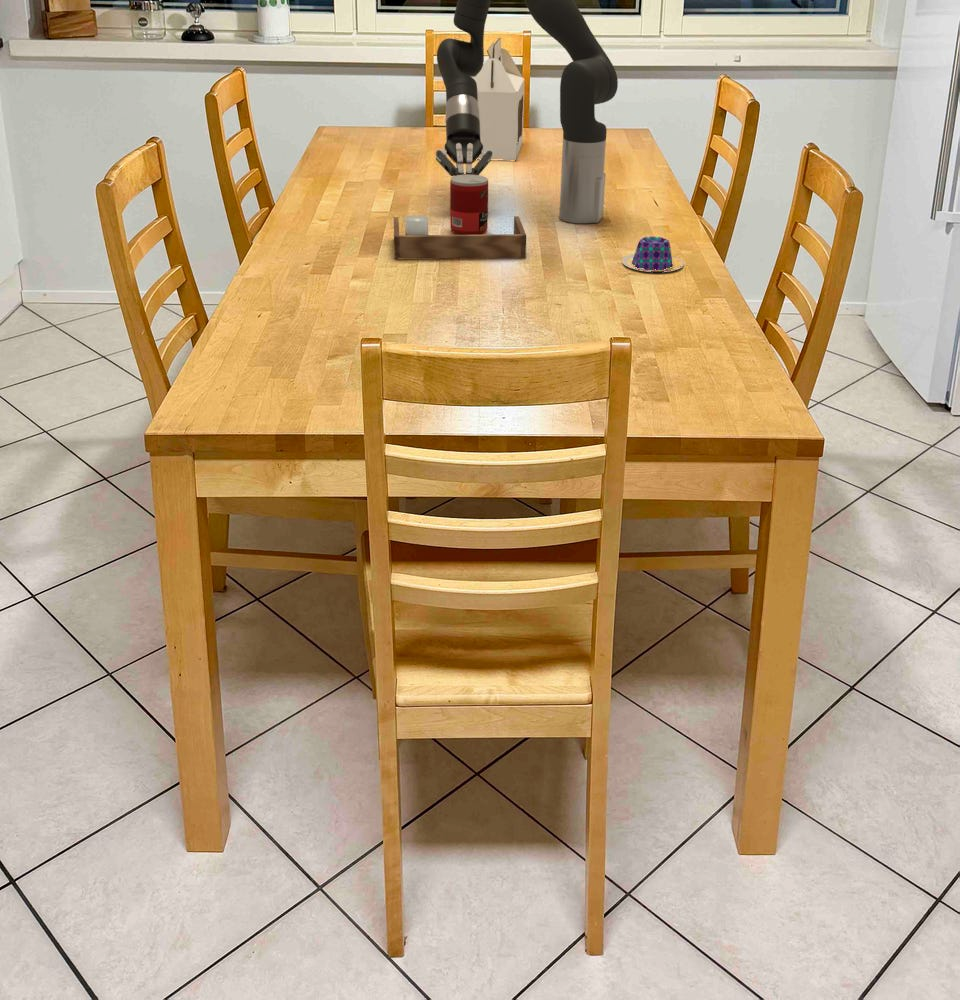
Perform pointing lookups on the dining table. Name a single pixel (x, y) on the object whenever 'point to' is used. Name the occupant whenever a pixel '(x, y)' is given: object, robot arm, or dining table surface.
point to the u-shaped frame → (461, 244)
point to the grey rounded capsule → (416, 225)
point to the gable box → (500, 104)
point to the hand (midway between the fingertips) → (465, 191)
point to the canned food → (469, 204)
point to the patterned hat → (652, 255)
